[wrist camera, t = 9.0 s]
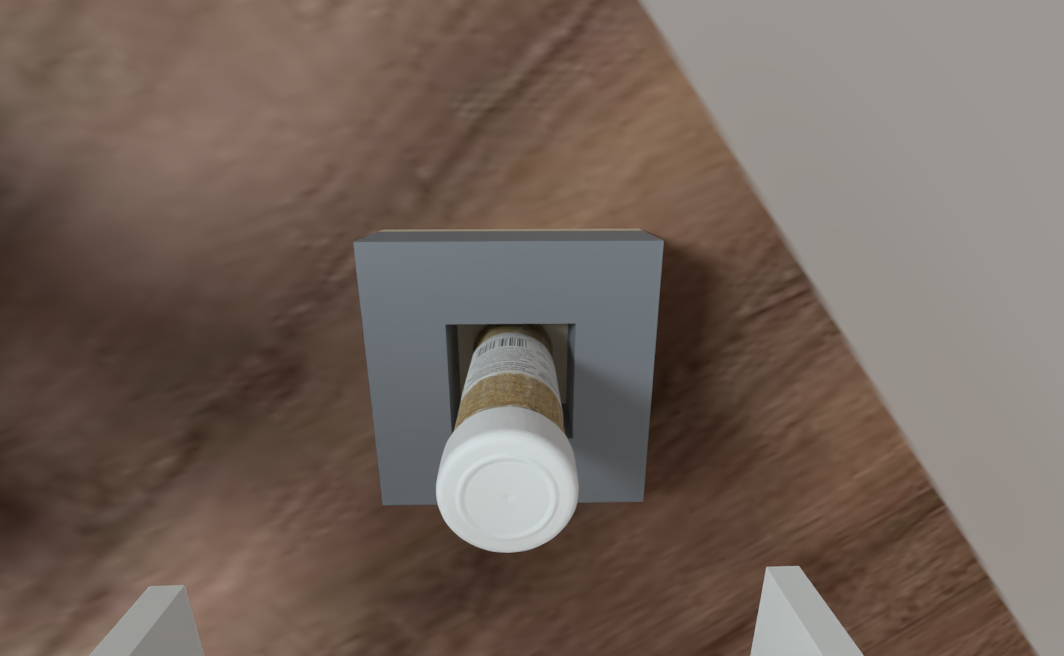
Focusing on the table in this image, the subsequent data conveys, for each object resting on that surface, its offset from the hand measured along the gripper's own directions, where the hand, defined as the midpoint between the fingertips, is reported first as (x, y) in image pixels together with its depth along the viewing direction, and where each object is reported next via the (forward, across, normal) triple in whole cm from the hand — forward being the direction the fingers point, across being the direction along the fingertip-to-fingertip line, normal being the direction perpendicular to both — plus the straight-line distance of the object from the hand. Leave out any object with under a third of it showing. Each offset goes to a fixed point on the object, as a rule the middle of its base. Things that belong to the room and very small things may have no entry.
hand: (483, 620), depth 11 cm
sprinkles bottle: (+18, +1, 0) cm, 18 cm away
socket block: (+18, +1, 0) cm, 19 cm away
